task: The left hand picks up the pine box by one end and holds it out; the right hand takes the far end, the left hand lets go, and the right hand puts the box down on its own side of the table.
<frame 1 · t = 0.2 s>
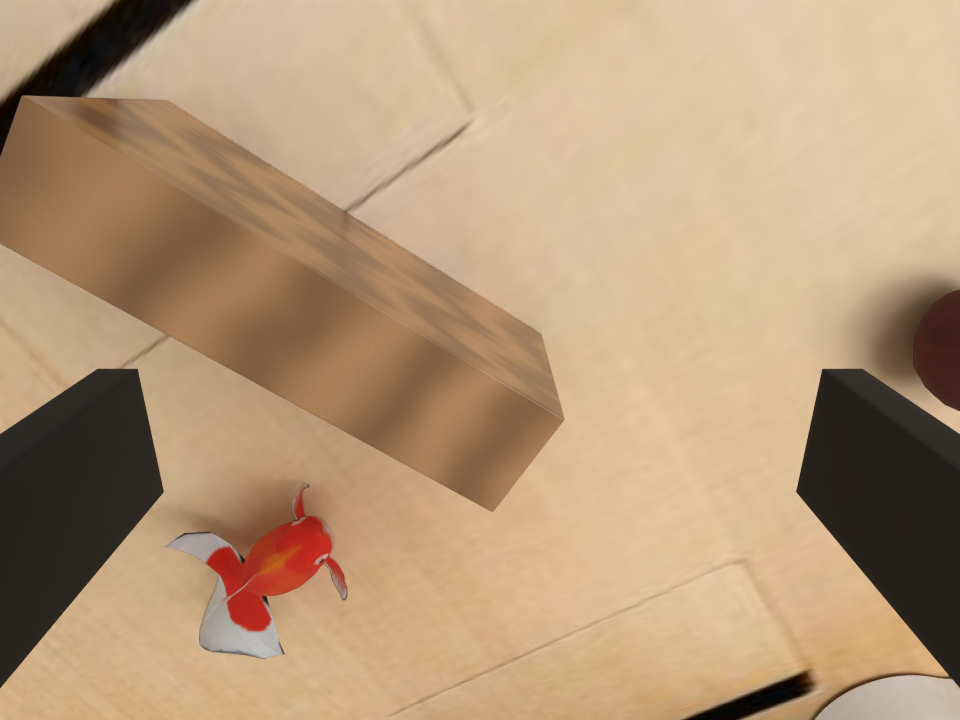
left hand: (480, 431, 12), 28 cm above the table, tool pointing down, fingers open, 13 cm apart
dark maroon ball: (943, 329, 41), on the table
fish: (276, 544, 47), on the table
box: (342, 266, 39), on the table
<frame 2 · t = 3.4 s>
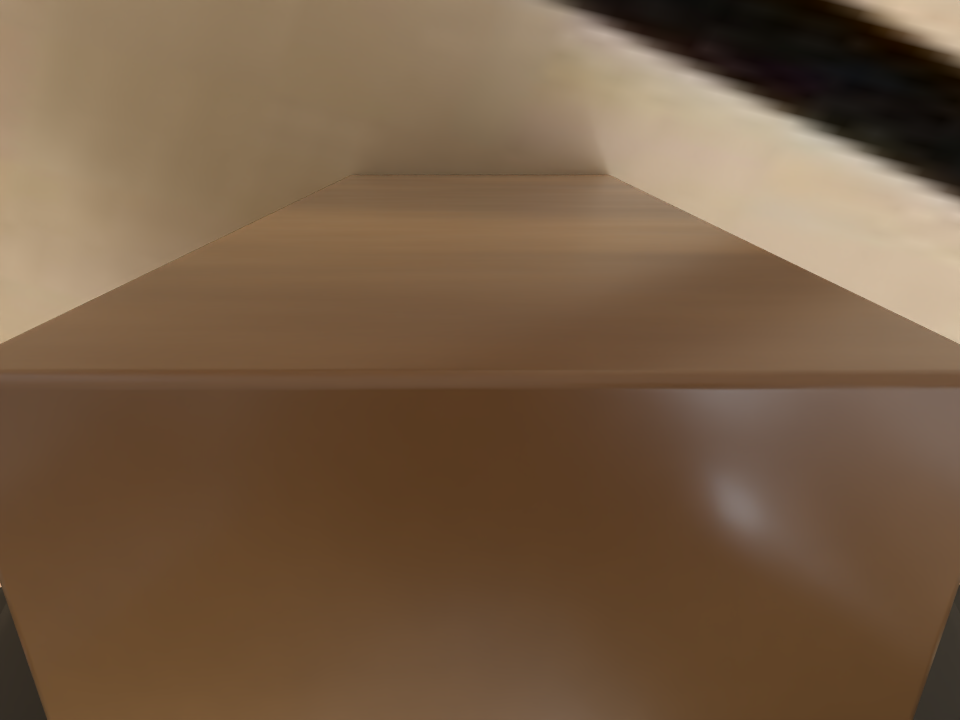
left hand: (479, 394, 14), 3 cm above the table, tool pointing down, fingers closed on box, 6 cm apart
box: (480, 609, 19), on the table, touching left hand
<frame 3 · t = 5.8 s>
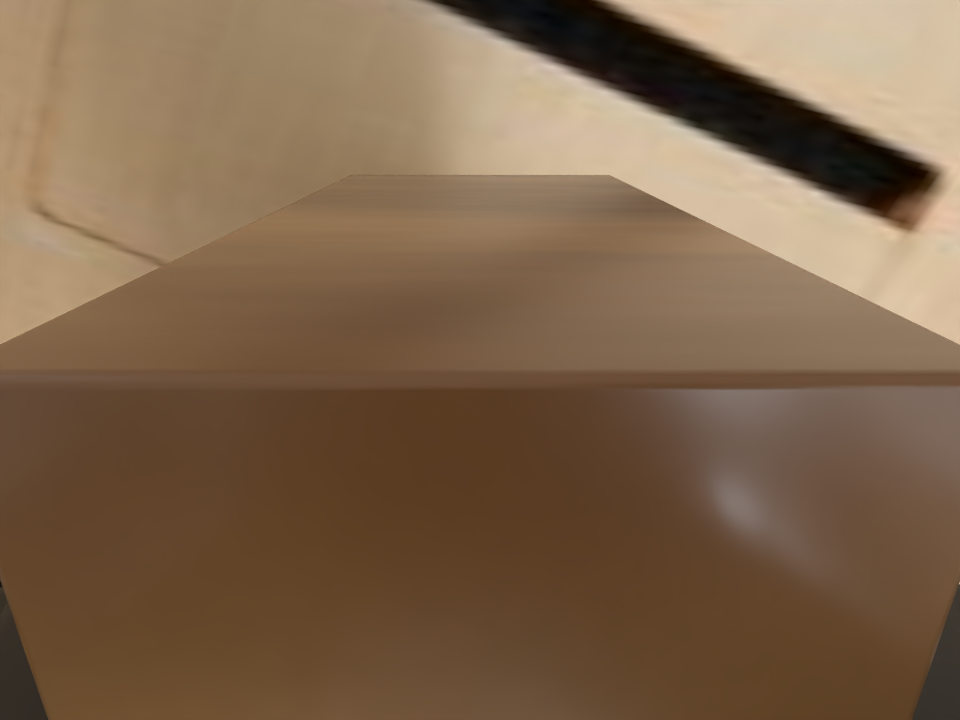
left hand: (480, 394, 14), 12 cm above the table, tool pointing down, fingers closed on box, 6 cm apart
box: (480, 609, 19), point 10 cm above the table, touching left hand
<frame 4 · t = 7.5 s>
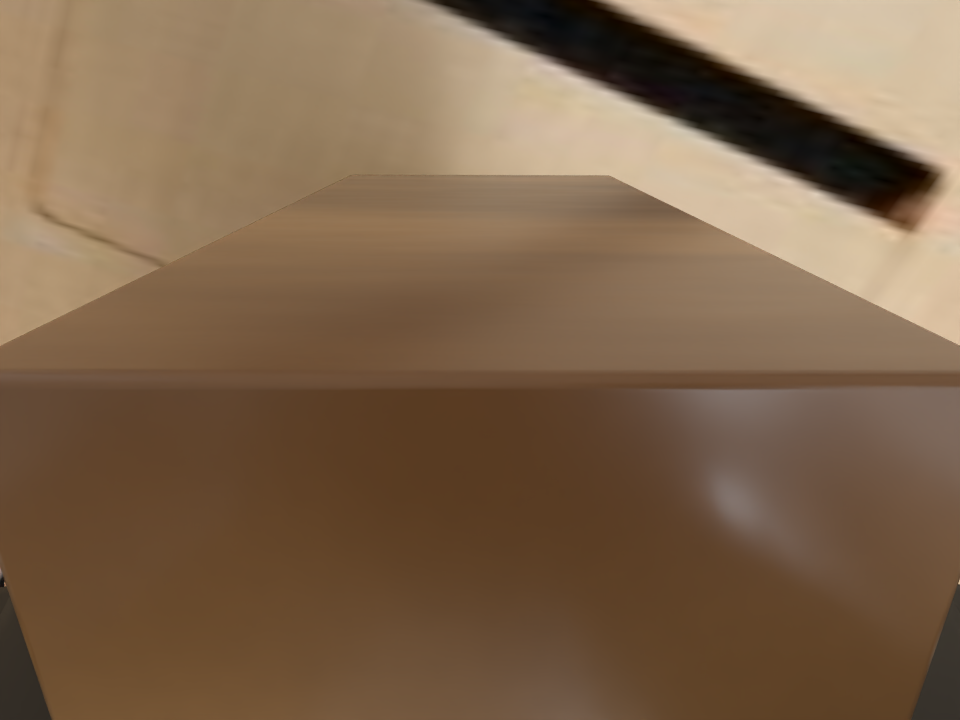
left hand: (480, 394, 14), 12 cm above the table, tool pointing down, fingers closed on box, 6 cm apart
box: (479, 608, 20), point 10 cm above the table, touching left hand, right hand
when the left hand's fingers open (12 cm above the table, at t = 8.6 s): box stays where it is, held by the right hand.
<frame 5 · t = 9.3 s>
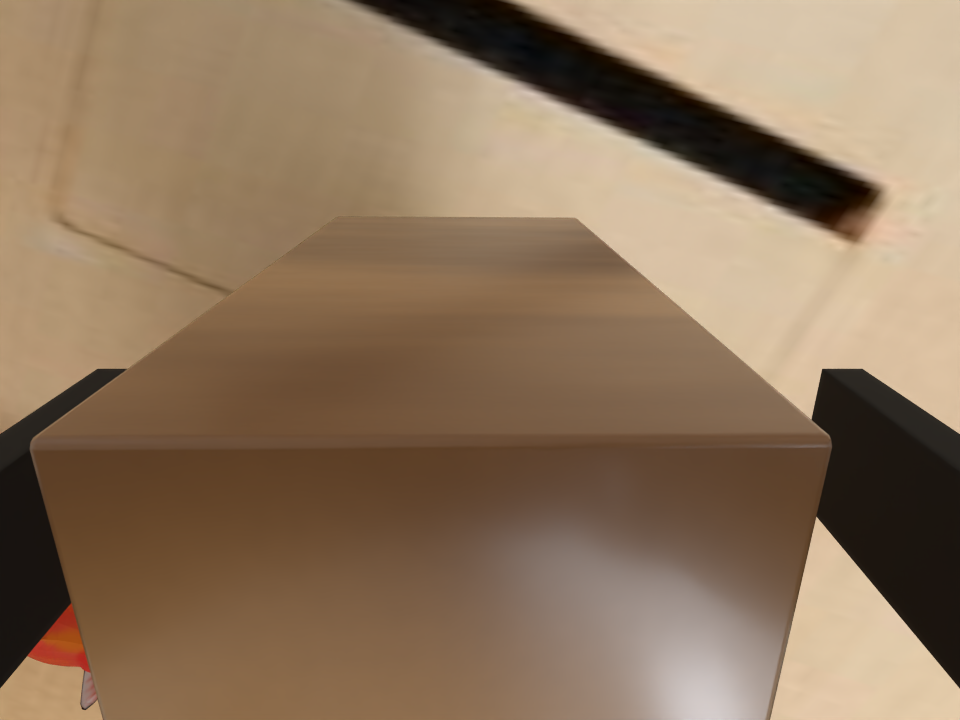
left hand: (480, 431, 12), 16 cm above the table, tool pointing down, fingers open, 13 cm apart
fish: (59, 542, 33), on the table
box: (458, 618, 21), point 11 cm above the table, touching right hand
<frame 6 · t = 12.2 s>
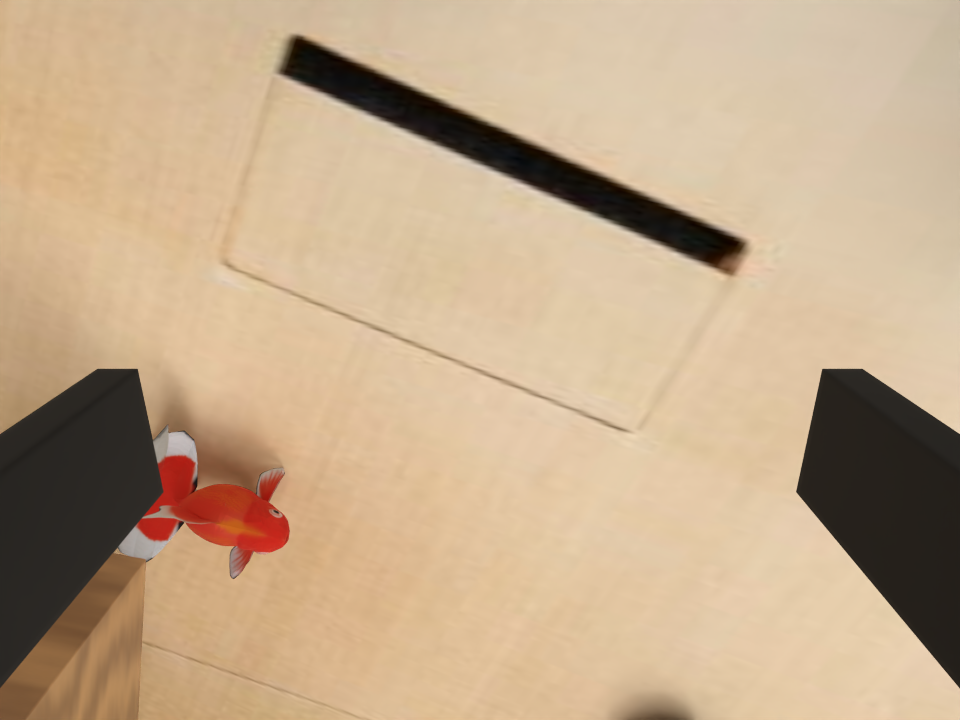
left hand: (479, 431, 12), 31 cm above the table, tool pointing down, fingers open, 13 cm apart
fish: (207, 474, 49), on the table
box: (89, 709, 41), point 13 cm above the table, touching right hand
when the right hand's fingers open (8 cm above the table, at t = 17.0 s): box stays where it is, on the table.
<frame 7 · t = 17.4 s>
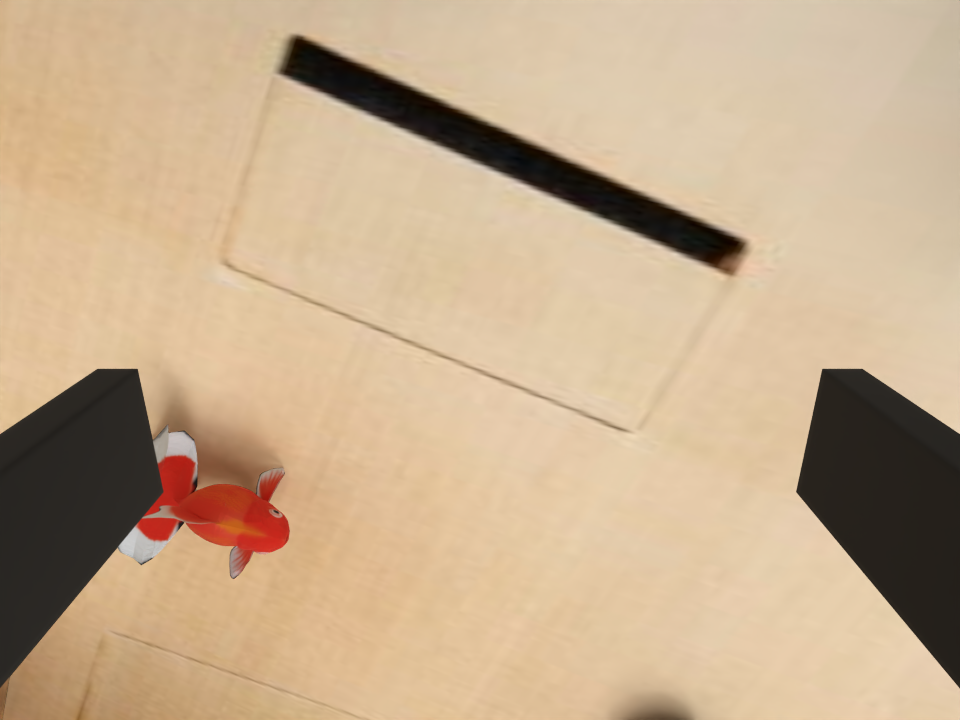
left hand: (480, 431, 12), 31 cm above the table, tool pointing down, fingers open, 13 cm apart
fish: (207, 474, 49), on the table
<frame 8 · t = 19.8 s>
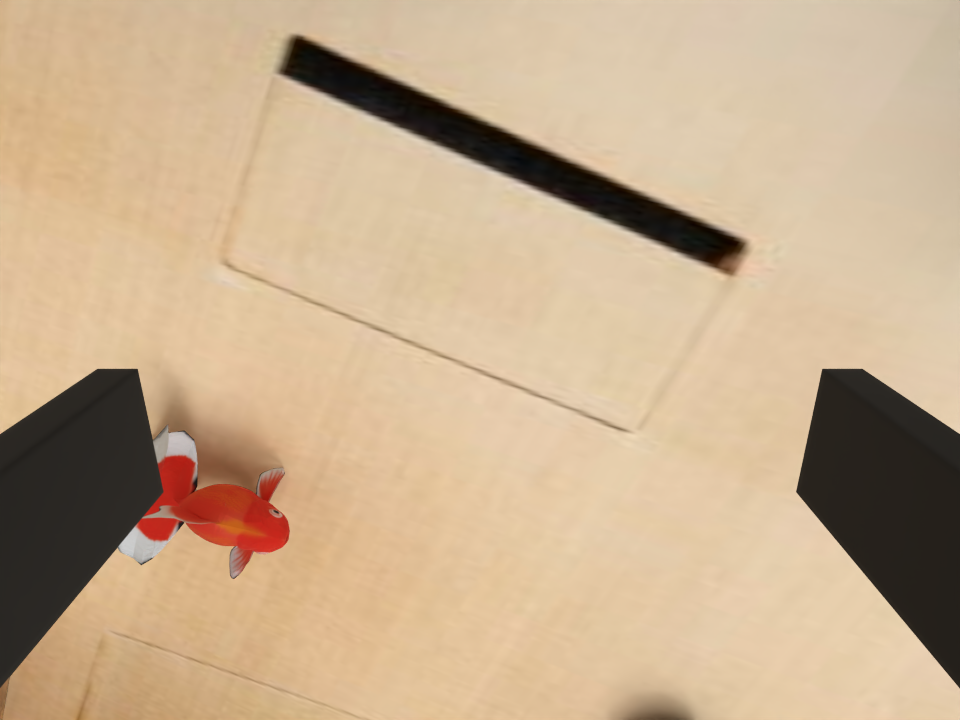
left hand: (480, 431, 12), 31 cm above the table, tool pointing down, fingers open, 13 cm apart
fish: (207, 474, 49), on the table
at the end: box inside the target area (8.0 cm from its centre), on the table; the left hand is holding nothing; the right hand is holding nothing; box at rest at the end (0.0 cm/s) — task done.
